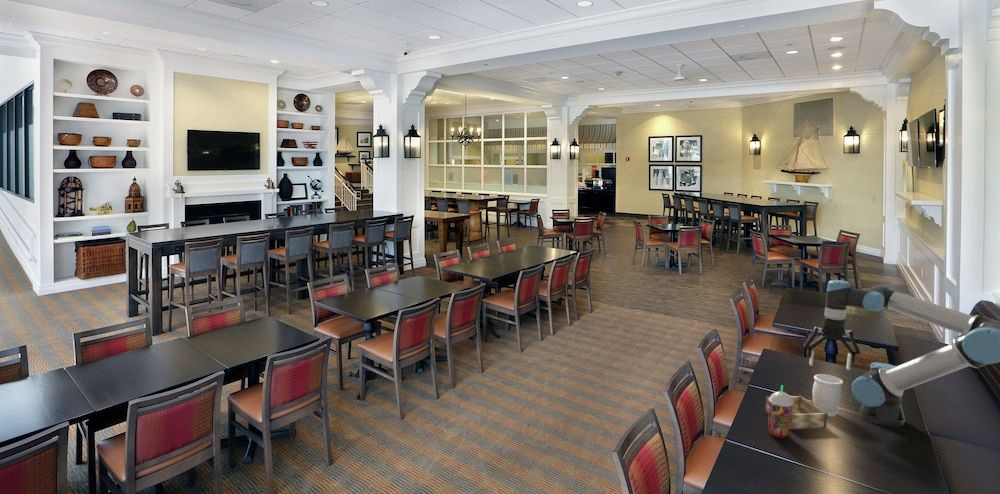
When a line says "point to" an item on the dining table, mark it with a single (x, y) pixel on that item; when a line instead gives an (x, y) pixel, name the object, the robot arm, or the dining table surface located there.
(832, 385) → the jar
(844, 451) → the dining table surface
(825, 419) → the crate
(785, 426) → the smoothie
